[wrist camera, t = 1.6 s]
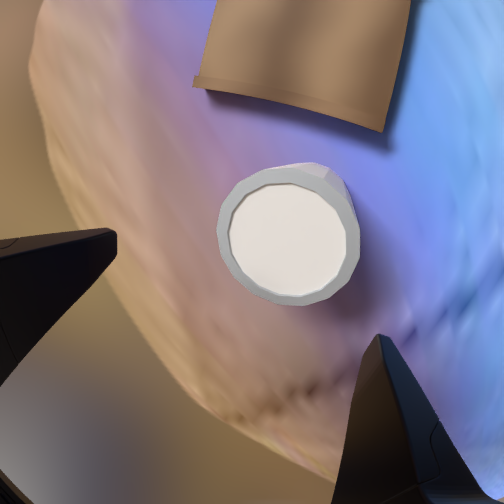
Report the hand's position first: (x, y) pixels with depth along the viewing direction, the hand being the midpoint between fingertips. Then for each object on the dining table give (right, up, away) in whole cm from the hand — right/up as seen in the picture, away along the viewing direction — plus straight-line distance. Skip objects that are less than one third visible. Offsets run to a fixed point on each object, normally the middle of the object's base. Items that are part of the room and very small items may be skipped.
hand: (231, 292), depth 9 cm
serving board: (+4, +16, +5) cm, 17 cm away
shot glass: (+4, +4, +11) cm, 13 cm away
